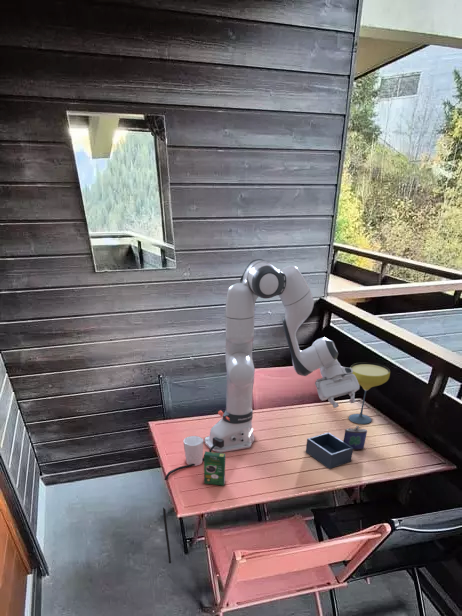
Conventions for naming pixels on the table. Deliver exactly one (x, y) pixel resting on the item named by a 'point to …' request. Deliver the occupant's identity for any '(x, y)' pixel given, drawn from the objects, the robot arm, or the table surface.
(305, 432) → the table surface
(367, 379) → the cocktail glass
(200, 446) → the white cup
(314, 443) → the tub
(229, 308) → the robot arm
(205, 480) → the coffee box
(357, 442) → the flask
